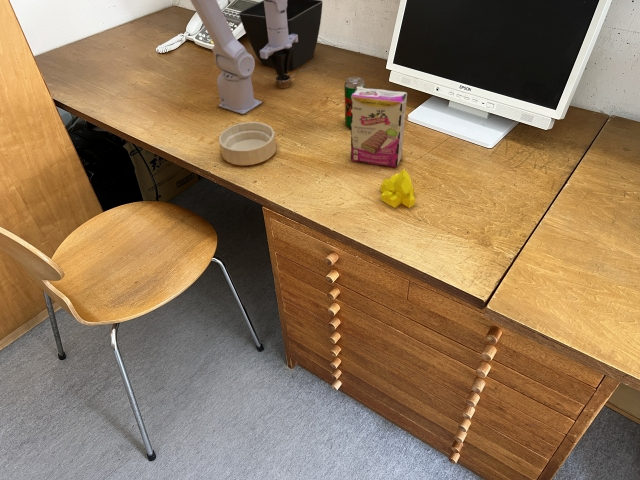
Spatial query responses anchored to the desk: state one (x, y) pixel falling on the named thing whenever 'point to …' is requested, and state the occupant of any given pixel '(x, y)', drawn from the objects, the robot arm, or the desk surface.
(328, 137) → the desk surface
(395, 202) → the yellow faceted lump
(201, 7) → the robot arm
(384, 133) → the candy bar box
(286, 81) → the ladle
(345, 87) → the soda can
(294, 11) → the flower pot
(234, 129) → the bowl
